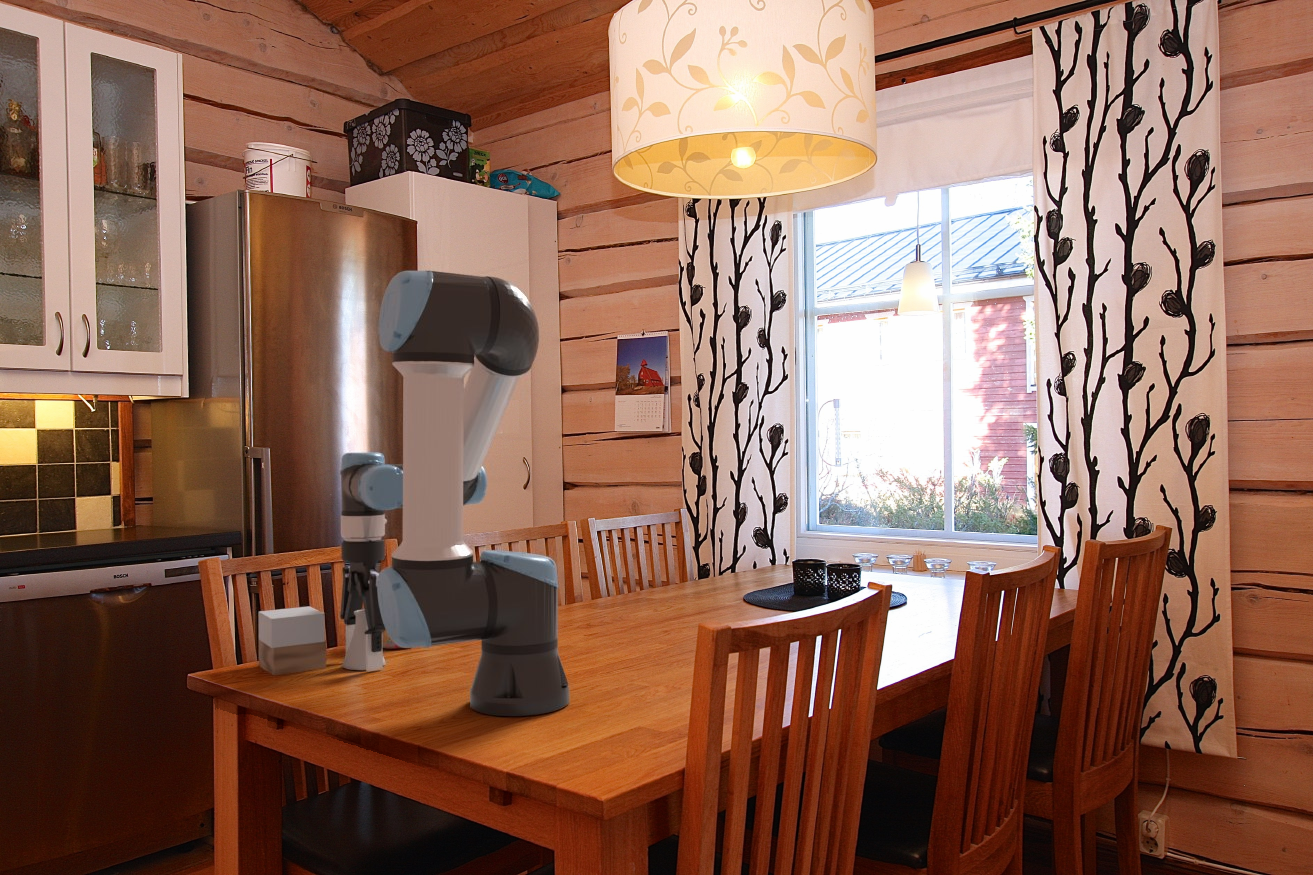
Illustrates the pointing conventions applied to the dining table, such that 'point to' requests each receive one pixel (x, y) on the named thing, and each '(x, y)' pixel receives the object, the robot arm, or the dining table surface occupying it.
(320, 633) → the block top
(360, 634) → the flask
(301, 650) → the block bottom
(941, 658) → the dining table surface
